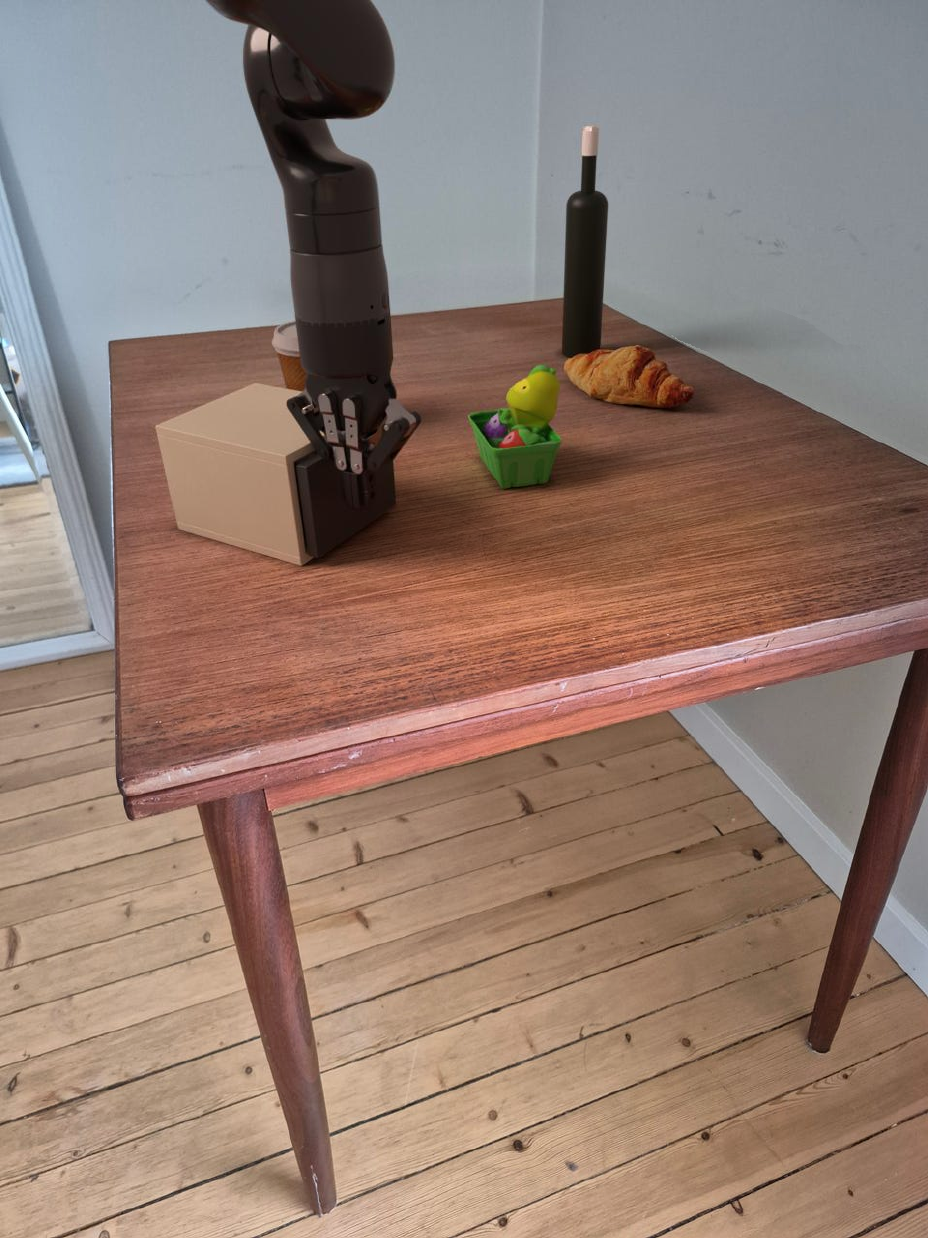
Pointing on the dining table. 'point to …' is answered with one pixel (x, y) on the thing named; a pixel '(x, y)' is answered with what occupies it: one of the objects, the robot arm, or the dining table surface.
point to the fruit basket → (521, 431)
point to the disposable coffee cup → (289, 356)
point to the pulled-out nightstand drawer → (336, 503)
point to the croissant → (627, 378)
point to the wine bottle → (585, 257)
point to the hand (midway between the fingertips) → (361, 506)
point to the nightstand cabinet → (239, 471)
